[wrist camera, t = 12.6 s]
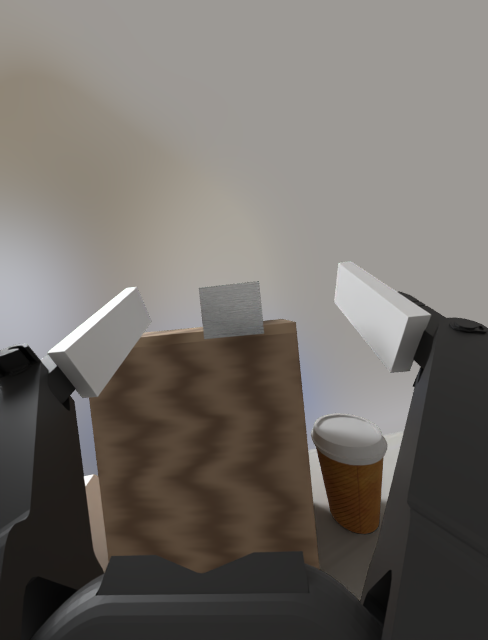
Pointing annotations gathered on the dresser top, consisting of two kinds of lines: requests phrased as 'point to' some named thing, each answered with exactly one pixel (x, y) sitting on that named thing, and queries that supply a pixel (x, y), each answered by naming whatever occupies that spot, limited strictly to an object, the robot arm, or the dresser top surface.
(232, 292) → the steel bar
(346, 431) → the disposable coffee cup
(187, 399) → the walnut shelf
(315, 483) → the dresser top surface
